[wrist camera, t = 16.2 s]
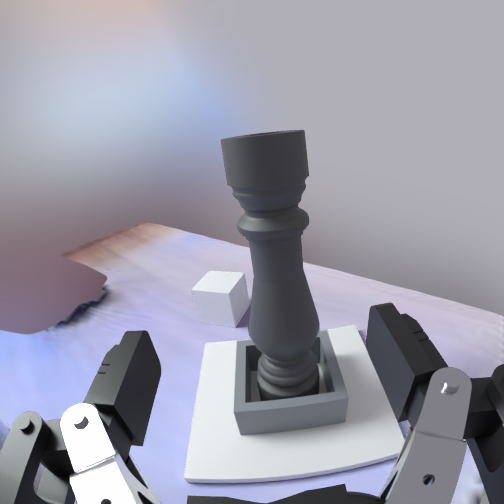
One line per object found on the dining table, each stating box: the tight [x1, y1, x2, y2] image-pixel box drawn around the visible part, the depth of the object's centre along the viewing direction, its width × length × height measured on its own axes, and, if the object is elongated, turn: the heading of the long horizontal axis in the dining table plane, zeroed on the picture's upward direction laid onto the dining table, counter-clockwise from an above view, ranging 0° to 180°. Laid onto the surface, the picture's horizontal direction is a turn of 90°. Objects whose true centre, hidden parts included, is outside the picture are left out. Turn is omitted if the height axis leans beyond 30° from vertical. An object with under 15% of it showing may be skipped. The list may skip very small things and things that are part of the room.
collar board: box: [184, 325, 405, 483], centre depth 29 cm, size 20×20×5 cm
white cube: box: [191, 271, 250, 328], centre depth 46 cm, size 6×6×6 cm
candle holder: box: [221, 130, 320, 401], centre depth 25 cm, size 6×6×25 cm
